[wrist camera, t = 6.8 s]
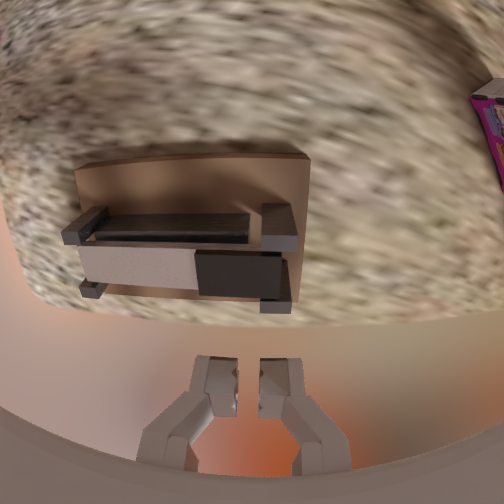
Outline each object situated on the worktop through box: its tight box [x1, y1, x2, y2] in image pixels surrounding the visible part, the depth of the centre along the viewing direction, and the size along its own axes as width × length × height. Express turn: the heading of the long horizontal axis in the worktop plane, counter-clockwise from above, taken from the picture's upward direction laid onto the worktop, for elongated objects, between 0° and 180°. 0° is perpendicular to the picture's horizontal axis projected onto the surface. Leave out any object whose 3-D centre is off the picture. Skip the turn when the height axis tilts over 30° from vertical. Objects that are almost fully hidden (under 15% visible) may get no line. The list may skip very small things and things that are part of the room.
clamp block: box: [61, 203, 298, 314], centre depth 19 cm, size 16×6×5 cm, turn 90°
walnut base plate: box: [74, 153, 311, 302], centre depth 22 cm, size 18×12×2 cm, turn 90°
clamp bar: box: [77, 241, 282, 299], centre depth 18 cm, size 14×3×1 cm, turn 90°
